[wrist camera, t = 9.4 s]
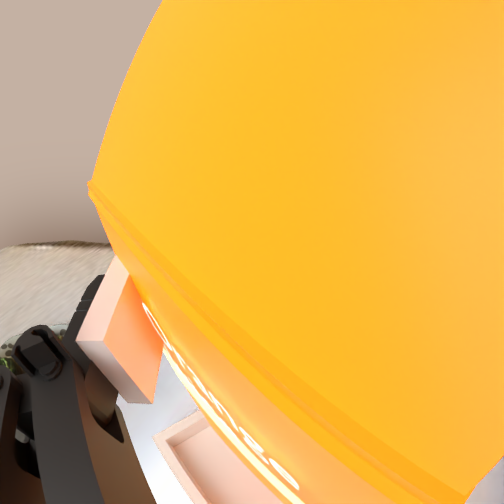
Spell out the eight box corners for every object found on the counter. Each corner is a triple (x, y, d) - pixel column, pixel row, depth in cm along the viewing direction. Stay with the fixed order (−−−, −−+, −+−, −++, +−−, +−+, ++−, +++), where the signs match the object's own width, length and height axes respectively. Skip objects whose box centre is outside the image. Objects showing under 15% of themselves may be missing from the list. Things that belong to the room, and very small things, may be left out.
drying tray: (319, 342, 27) (319, 326, 26) (460, 449, 16) (473, 438, 14) (163, 446, 21) (151, 436, 19) (293, 603, 9) (291, 610, 7)
